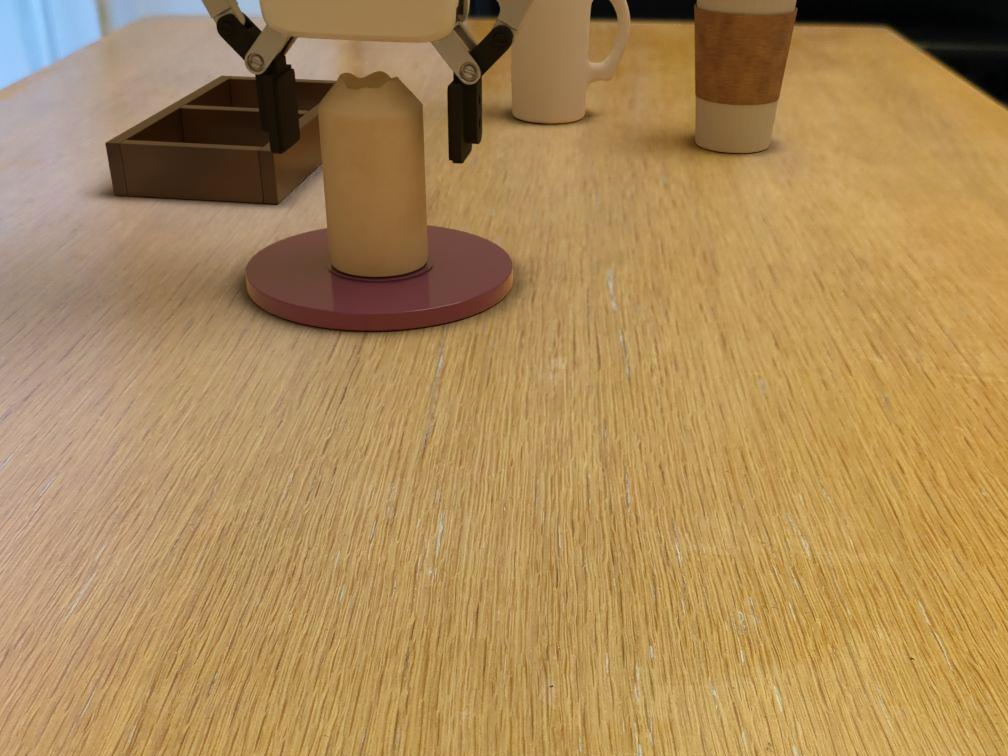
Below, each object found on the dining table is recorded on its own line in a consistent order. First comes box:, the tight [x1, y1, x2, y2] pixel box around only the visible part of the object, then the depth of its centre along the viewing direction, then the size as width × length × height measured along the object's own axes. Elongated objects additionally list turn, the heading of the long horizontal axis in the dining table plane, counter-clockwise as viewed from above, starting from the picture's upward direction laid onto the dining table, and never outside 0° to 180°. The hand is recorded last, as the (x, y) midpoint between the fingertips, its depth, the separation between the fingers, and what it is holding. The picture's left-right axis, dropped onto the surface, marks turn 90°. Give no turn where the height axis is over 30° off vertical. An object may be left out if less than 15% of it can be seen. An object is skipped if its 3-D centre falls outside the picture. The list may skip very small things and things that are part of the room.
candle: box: [318, 70, 428, 277], centre depth 66 cm, size 6×6×10 cm
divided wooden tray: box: [104, 75, 337, 205], centre depth 90 cm, size 12×22×4 cm, turn 173°
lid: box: [244, 224, 514, 332], centre depth 69 cm, size 15×15×1 cm
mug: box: [510, 0, 631, 125], centre depth 100 cm, size 10×7×12 cm, turn 95°
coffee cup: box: [693, 0, 798, 154], centre depth 92 cm, size 8×8×15 cm
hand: (372, 152), depth 65 cm, fingers open, 9 cm apart
